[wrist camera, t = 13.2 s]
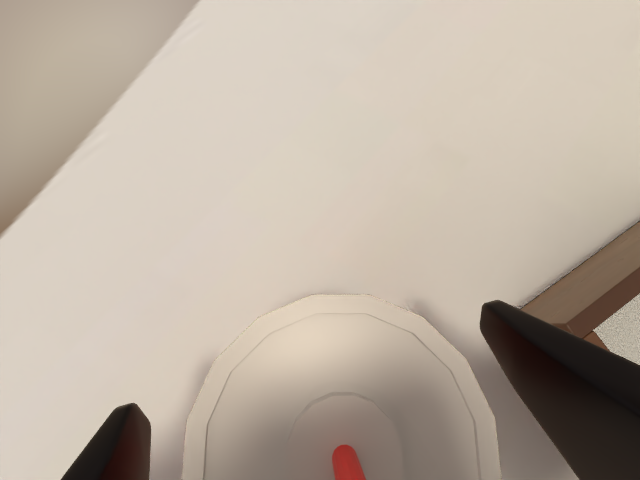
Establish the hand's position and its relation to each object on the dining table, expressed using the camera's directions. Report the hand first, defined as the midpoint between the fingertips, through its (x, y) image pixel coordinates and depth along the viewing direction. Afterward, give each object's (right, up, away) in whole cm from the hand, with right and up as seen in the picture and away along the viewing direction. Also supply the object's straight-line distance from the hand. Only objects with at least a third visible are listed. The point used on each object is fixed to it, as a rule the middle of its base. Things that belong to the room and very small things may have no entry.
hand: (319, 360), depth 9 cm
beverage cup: (0, -3, +7) cm, 7 cm away
